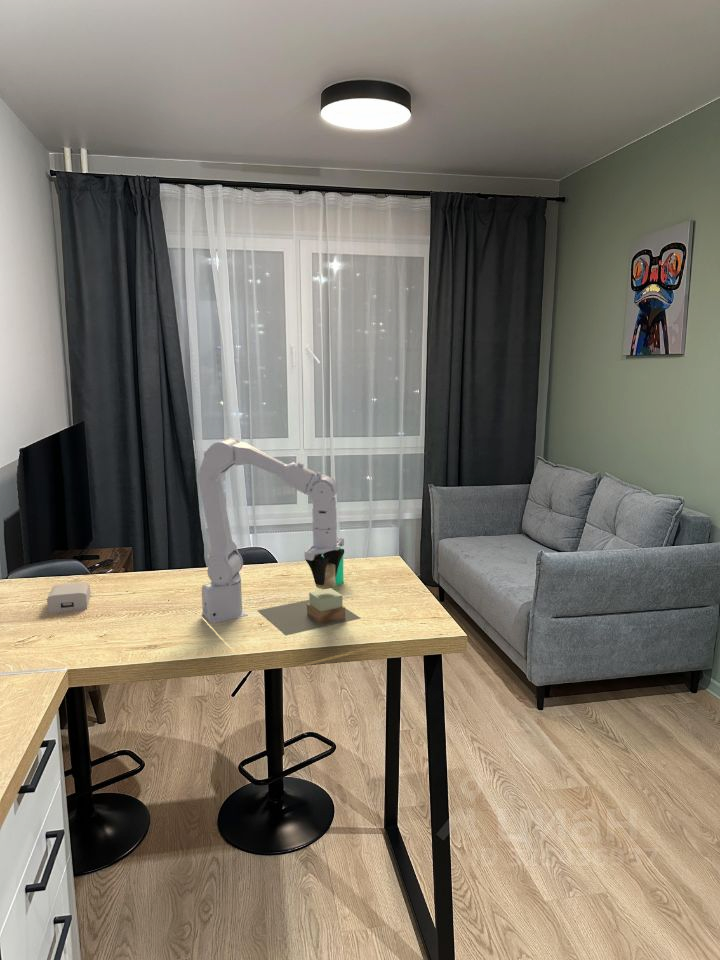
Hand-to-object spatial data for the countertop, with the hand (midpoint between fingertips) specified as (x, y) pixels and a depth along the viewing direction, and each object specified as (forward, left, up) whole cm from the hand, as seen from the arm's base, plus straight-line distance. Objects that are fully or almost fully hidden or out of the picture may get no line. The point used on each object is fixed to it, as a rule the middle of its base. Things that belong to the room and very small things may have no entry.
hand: (325, 581), depth 162 cm
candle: (+14, +23, -10) cm, 29 cm away
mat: (-3, +4, -10) cm, 11 cm away
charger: (-53, +46, -10) cm, 71 cm away
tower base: (0, 0, -9) cm, 9 cm away
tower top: (0, 0, -6) cm, 6 cm away
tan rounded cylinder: (0, 0, -1) cm, 1 cm away
